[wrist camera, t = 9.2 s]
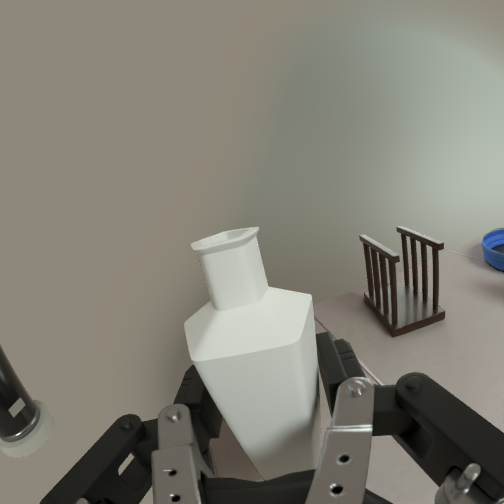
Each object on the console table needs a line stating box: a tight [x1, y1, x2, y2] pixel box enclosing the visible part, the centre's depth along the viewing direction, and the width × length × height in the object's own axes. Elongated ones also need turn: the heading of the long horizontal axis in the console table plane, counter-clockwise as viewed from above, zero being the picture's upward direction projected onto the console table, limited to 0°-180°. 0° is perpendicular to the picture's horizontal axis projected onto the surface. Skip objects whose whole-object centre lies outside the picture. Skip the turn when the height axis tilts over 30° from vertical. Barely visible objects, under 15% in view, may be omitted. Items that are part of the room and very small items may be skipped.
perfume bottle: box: [184, 227, 321, 481], centre depth 10 cm, size 5×4×15 cm
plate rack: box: [359, 226, 445, 337], centre depth 34 cm, size 12×8×10 cm, turn 177°
